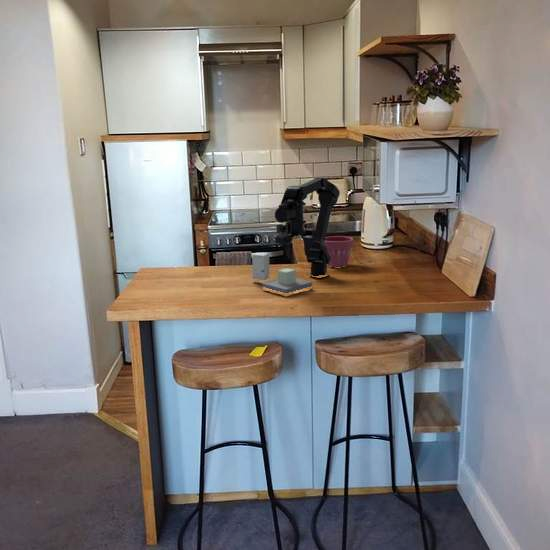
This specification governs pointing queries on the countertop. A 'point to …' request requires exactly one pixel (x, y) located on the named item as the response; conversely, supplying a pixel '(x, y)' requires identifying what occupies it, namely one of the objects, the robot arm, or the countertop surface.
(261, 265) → the skincare box
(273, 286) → the base
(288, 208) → the robot arm
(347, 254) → the plant pot
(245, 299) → the countertop surface
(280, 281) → the green cube
